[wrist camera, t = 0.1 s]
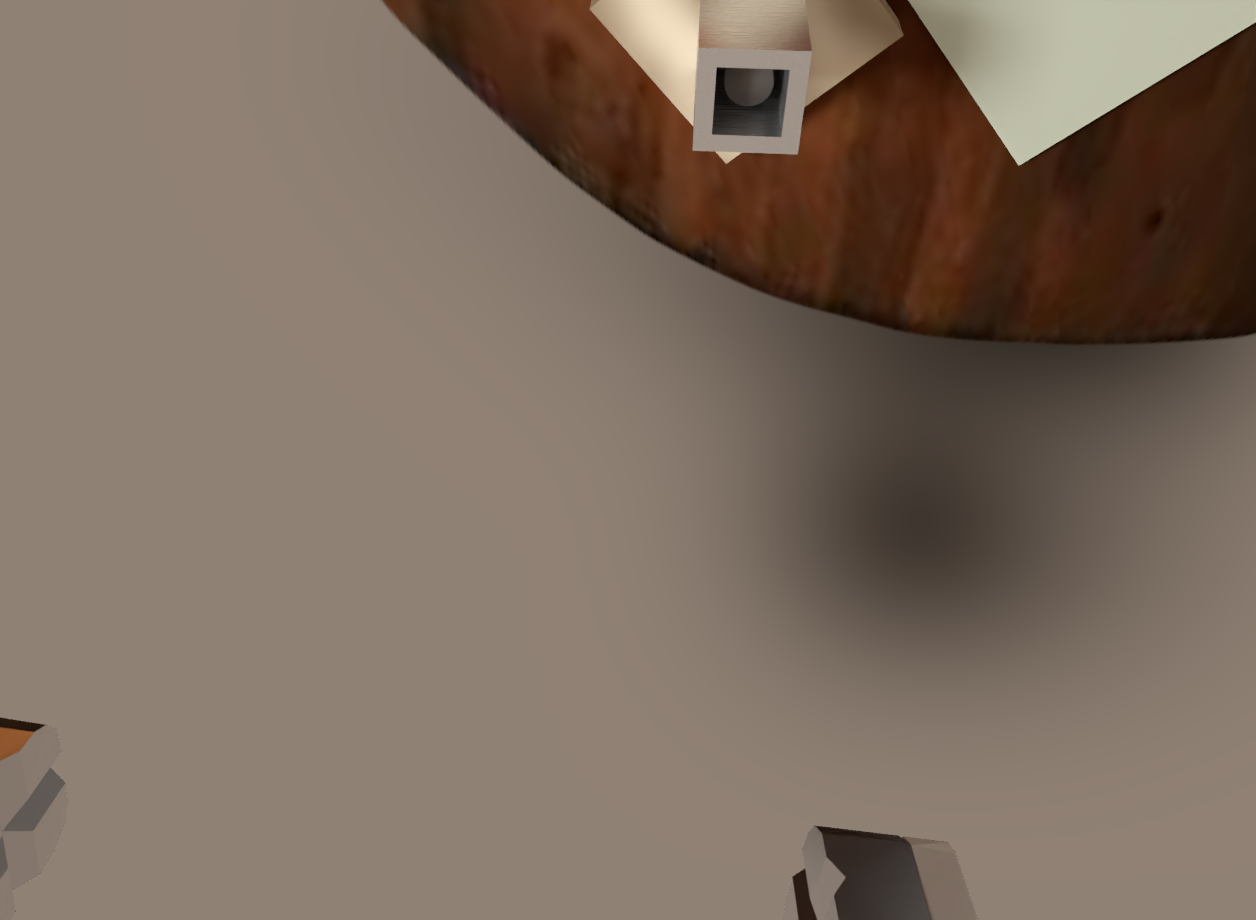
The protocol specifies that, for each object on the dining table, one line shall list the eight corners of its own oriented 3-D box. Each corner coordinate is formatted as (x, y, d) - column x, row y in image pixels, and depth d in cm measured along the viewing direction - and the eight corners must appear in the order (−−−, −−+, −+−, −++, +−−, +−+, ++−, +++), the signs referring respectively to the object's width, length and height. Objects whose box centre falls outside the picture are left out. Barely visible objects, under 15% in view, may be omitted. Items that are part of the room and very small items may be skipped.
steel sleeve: (695, 67, 56) (692, 150, 50) (701, -30, 52) (698, 47, 46) (789, 70, 56) (797, 154, 50) (801, -27, 52) (812, 51, 46)
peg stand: (770, -168, 49) (777, -106, 43) (898, 20, 55) (921, 97, 49) (592, -6, 55) (576, 68, 49) (726, 146, 62) (726, 230, 55)
